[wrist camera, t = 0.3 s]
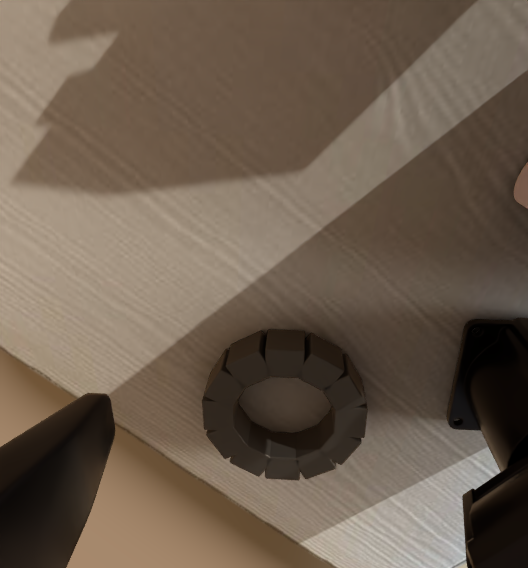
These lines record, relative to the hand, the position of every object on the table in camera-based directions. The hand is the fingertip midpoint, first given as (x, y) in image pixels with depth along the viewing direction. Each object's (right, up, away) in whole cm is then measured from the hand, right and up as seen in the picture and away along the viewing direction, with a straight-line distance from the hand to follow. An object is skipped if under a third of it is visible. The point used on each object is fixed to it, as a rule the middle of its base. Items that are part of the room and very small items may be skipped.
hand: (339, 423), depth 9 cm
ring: (0, -3, +17) cm, 18 cm away
